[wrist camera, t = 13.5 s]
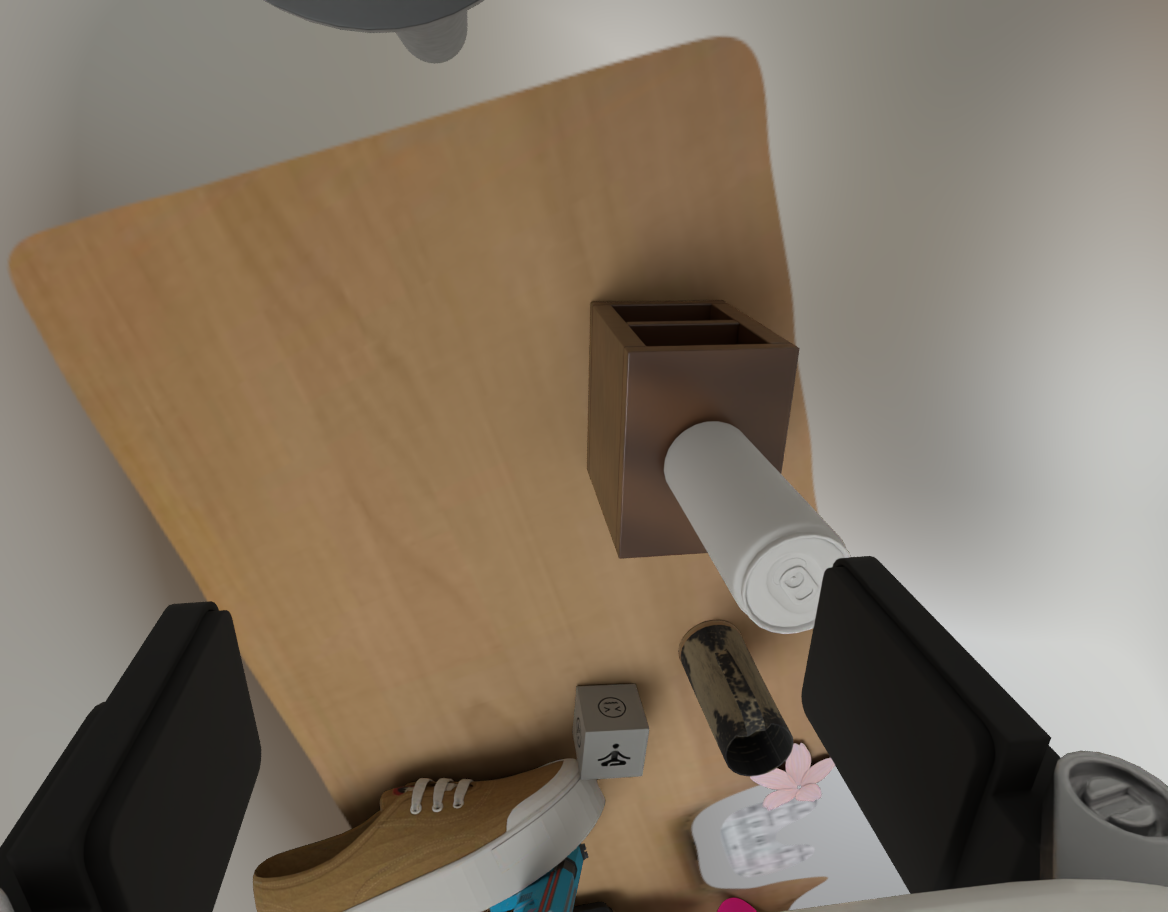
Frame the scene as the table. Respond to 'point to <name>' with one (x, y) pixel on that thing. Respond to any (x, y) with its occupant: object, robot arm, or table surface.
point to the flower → (795, 778)
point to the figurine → (735, 906)
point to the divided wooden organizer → (675, 406)
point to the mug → (735, 699)
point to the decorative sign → (593, 908)
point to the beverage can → (752, 525)
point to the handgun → (549, 888)
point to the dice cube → (609, 731)
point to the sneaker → (439, 846)
